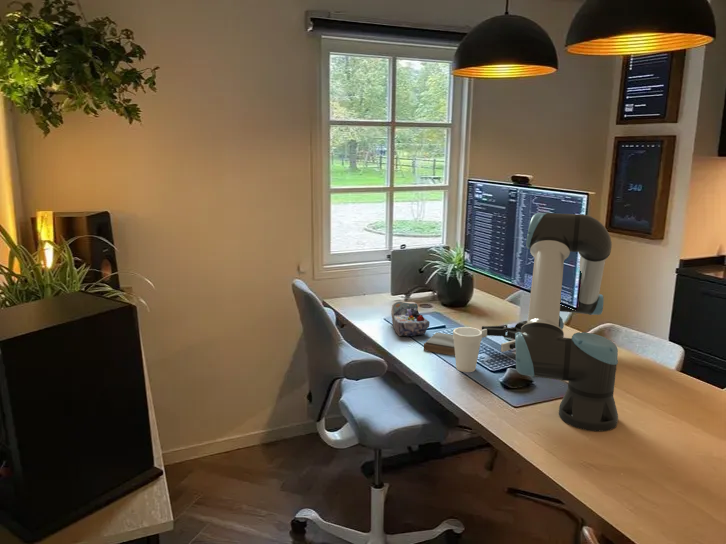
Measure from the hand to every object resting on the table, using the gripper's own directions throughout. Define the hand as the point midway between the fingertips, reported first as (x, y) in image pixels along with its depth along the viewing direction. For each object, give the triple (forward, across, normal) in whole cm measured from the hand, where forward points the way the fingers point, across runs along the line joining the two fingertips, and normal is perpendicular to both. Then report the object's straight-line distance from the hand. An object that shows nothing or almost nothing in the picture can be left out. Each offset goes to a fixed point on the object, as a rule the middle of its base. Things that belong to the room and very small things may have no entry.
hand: (486, 341), depth 196 cm
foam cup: (+10, 0, -8) cm, 12 cm away
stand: (+2, +18, -7) cm, 20 cm away
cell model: (+2, +41, -8) cm, 42 cm away
